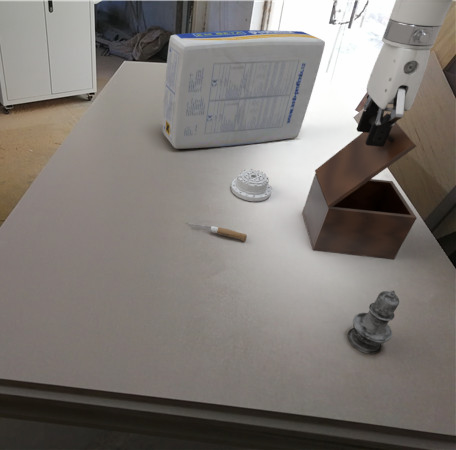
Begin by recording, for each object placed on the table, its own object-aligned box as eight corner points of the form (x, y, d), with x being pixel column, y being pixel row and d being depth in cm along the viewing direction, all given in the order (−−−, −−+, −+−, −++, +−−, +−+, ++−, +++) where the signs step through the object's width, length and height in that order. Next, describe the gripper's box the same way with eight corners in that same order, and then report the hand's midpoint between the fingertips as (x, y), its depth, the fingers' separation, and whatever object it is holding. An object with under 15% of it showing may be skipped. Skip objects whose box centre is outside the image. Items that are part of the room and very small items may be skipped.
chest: (373, 220, 95) (392, 181, 88) (394, 259, 84) (417, 217, 77) (302, 212, 96) (315, 173, 89) (312, 250, 85) (328, 208, 78)
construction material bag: (280, 124, 136) (305, 27, 118) (300, 139, 127) (329, 37, 109) (160, 136, 124) (166, 31, 106) (172, 153, 116) (181, 42, 98)
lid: (389, 115, 80) (374, 99, 78) (417, 146, 69) (400, 128, 67) (317, 172, 89) (302, 159, 87) (330, 207, 78) (314, 193, 77)
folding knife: (183, 228, 89) (184, 221, 87) (185, 224, 90) (186, 217, 89) (244, 244, 85) (246, 236, 84) (246, 239, 87) (247, 232, 85)
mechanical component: (246, 176, 108) (222, 189, 102) (249, 162, 105) (225, 174, 99) (278, 192, 102) (254, 207, 96) (282, 177, 99) (258, 191, 94)
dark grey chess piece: (376, 362, 64) (408, 312, 57) (340, 340, 67) (366, 290, 60) (388, 340, 67) (420, 290, 60) (353, 320, 70) (380, 271, 63)
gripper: (459, 49, 58) (406, 162, 69) (414, 24, 71) (375, 122, 82) (405, 45, 58) (361, 157, 69) (370, 21, 72) (338, 118, 83)
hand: (369, 137), depth 76 cm, fingers closed on lid, 5 cm apart
